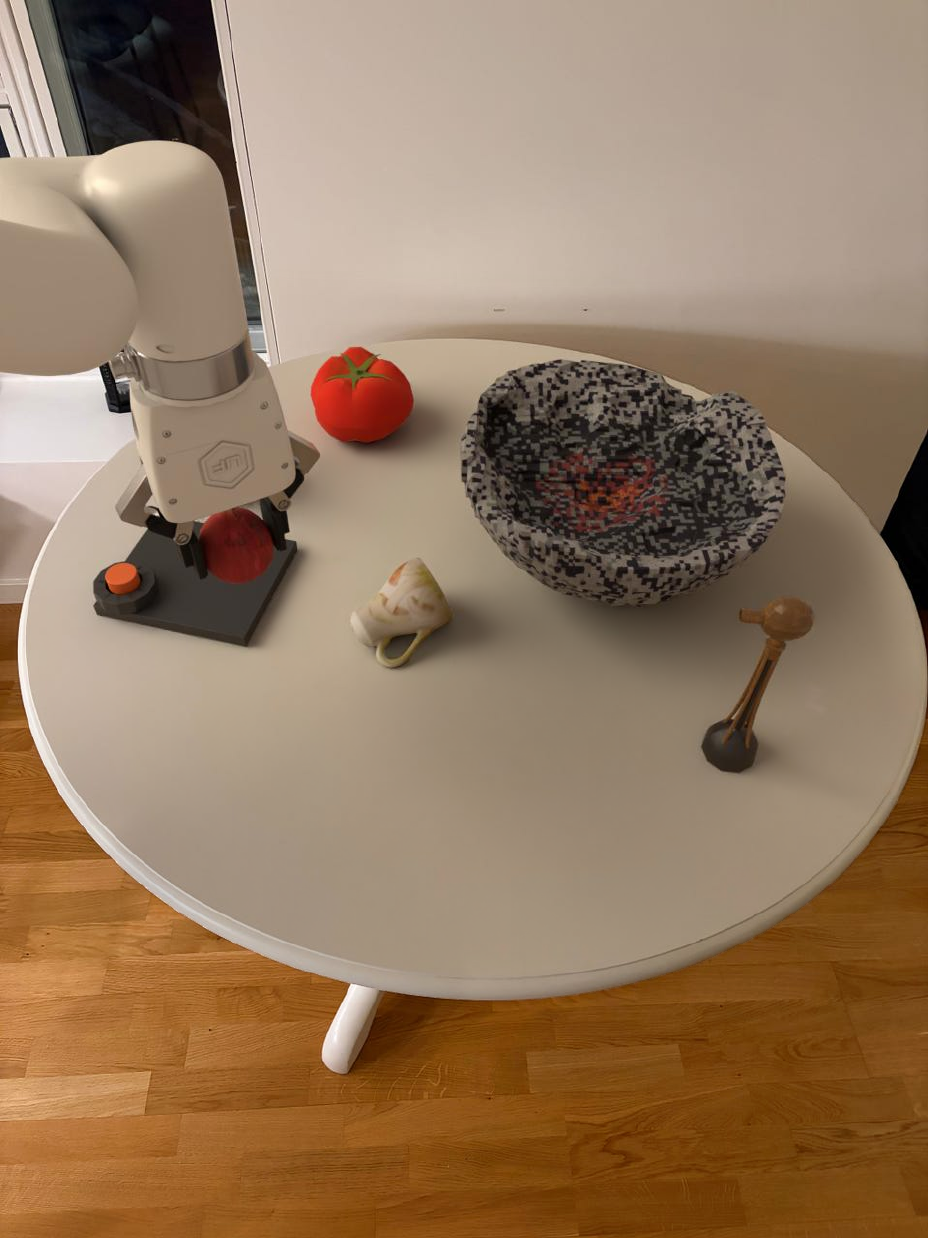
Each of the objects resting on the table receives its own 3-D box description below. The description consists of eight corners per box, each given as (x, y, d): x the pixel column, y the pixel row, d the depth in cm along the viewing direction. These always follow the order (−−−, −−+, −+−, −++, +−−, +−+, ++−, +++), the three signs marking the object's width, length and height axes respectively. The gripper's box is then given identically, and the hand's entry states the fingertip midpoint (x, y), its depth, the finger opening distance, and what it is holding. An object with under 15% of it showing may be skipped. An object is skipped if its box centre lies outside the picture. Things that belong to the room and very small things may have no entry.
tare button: (103, 592, 89) (99, 581, 87) (118, 570, 91) (114, 560, 89) (131, 597, 88) (127, 587, 87) (145, 576, 90) (142, 565, 89)
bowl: (460, 668, 87) (464, 558, 75) (457, 461, 107) (459, 350, 96) (782, 669, 88) (833, 560, 76) (717, 464, 108) (750, 354, 97)
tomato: (410, 459, 107) (408, 399, 101) (306, 454, 108) (298, 394, 101) (418, 397, 116) (417, 338, 109) (321, 392, 116) (315, 333, 110)
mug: (333, 627, 90) (362, 538, 86) (417, 636, 95) (449, 552, 91) (356, 668, 84) (390, 574, 80) (445, 675, 89) (480, 587, 86)
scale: (90, 617, 90) (81, 597, 88) (156, 522, 99) (150, 501, 97) (244, 650, 88) (239, 630, 85) (297, 550, 97) (294, 529, 95)
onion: (290, 562, 75) (278, 489, 69) (260, 611, 72) (245, 538, 66) (227, 547, 76) (210, 473, 70) (194, 594, 73) (173, 520, 67)
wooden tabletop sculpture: (690, 767, 80) (749, 619, 65) (688, 724, 83) (744, 573, 68) (757, 775, 80) (832, 628, 65) (753, 732, 83) (824, 582, 68)
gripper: (73, 423, 53) (145, 623, 67) (339, 349, 59) (355, 547, 73) (43, 360, 58) (116, 560, 71) (294, 297, 64) (317, 493, 77)
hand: (237, 552), depth 72 cm, fingers closed on onion, 5 cm apart
